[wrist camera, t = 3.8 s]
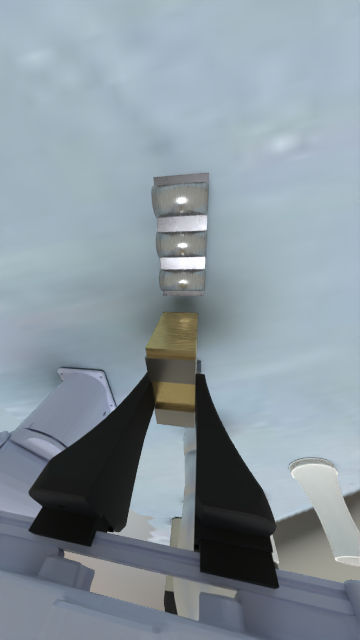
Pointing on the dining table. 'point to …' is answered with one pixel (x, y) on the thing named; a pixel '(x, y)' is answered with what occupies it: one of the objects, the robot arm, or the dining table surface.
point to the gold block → (174, 368)
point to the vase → (329, 507)
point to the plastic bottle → (191, 538)
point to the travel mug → (169, 587)
